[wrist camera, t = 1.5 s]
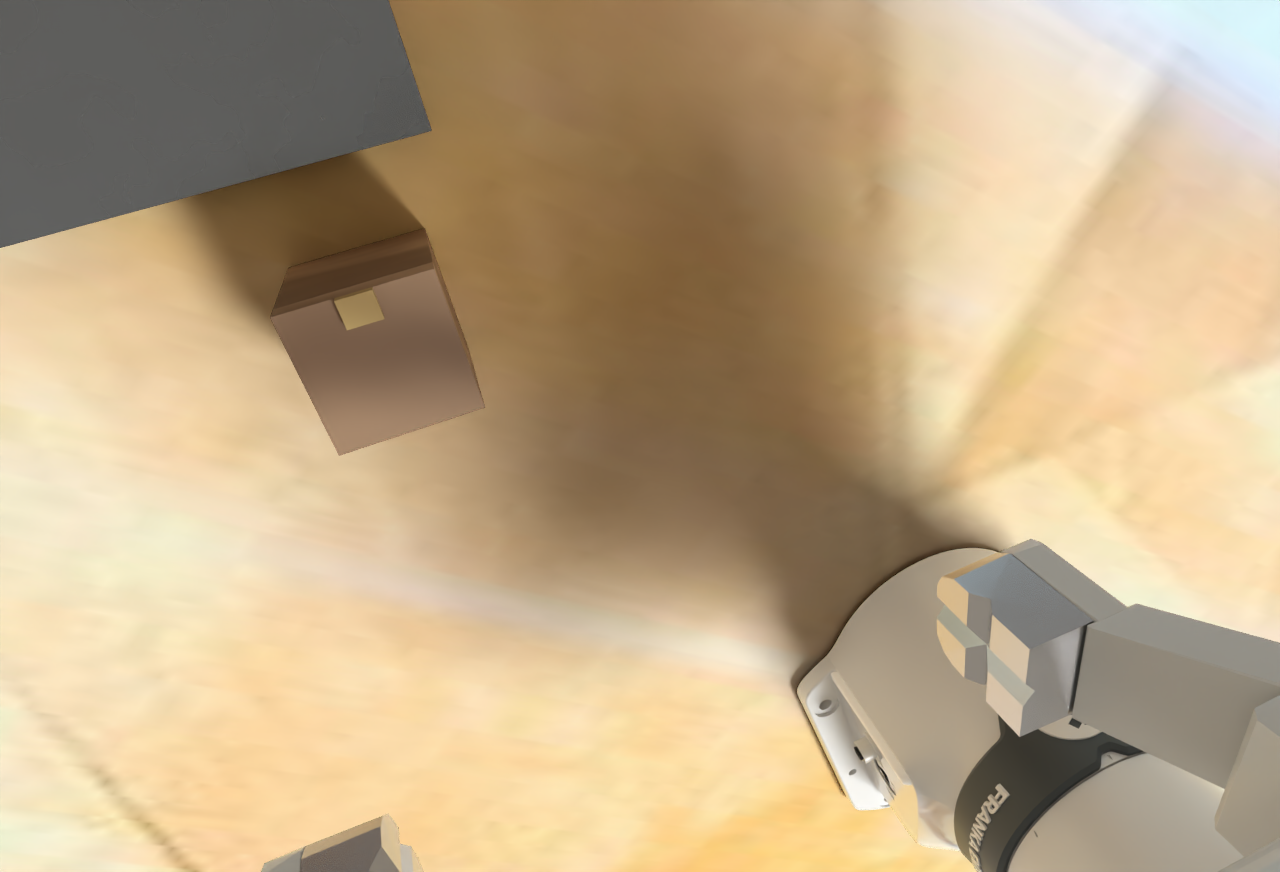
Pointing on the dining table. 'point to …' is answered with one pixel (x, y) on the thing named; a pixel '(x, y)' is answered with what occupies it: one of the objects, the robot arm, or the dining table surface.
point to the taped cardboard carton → (376, 341)
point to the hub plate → (185, 99)
